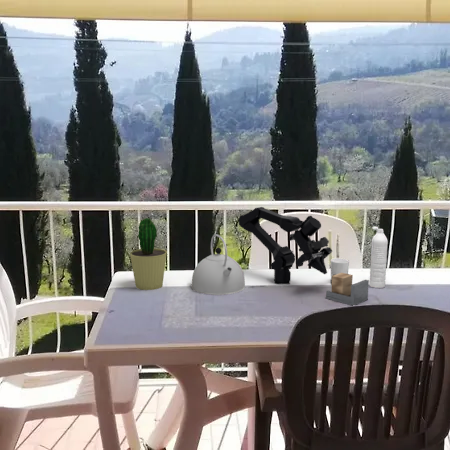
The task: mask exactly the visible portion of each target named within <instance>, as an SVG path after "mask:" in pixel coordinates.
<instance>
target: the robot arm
mask: <svg viewBox="0 0 450 450" xmlns="http://www.w3.org/2000/svg"><path fill="white" fill-rule="evenodd" d="M261 219H263V220H266V221H268V222H270V223H273V224H275V225H277V226H279V228H280V229H282V230H283V231H284V232H286V233H289V237H288V241H289V242H291V241H294V242H295V243H296V245H297V246H298V247H299V248H298V251H299V252H302V254H301V255H300V256H299V257H298V258H297V259H296V255H295V253H294V251H293V250H291V249H290V247H289V246H288V245H285V246H282V245H280V244H279V243H278V242H277V240H275V239H274V238H273V237H272V236H271V235H270V234H269V233H268V231H266V230H265V229H264V228H263V226H261V224H260V223H261V222H260V220H261ZM238 225H239V227H241V228H242V229H243V230H245V231H247V232H249V233H252V235H253V236H254V237H256V239H257V240H258V241H259V242H260V243H261V244H263V246H264V248H266V249H267V250H268V251H269V252H270V253H271V254H272V255H271V256H272V258H273V262H272V263H271V264H270V268H271V270H273V279H272V280H273V282H274V284H275V285H277V284H278V285H279V284H282V285H283V284H285V285H288V284H290V283H291V274H292V273H291V271H290V268H293V264H296V266H297V267H298V268H300V267H303V265H304V263H305V262H308V263H307V266H308V267H311V268H312V269H314V270H316V271H318V272H320V274H321V273H322V274H323V275H327V274H328V271H327V268H326V263H325V259H326V258H327V257H328V256H330V254H332V252H333V250H332V248H331V247H329V242H330V241H329V239H328V238H327V237H326V236H324V237H321V238H320V239H319V240H317V241H316V240H314V239H311V238H310V237H312V236H314V235H315V234H316V233H317V232H318V231H319V230H320V229H321V228H322V223H321V221H320V220H318V219H317V218H315V217H313V216H312V215H308V216H307V217H305V220H301V219H300V218H299V217H296V216H291V215H290V216H289V215H283V214H279V213H277V212H274V211H273V210H270V209H268V208H265V207H263V206H259V207H255V208H254V209H252V210H250V211H249V212H247V213H245V214H242V215H240V216H239V218H238ZM292 232H293V233H292ZM290 233H291V234H290Z"/></svg>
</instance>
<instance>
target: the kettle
mask: <svg viewBox="0 0 450 450" xmlns="http://www.w3.org/2000/svg"><path fill="white" fill-rule="evenodd" d="M215 237H216V238H217V237H218V238H219V239H220V240H221V242H222V243H223V247H224V253H225V254H222V249H221V247H216V248H215V253H216V254H215V253H214V249H213V243H214V239H215ZM210 253H211V254H210V255H208V256H206V257H205V258H203V259H202V260H200V261H199V262H198V264H197V265H196V266H195V268H194V270H193V273H192V277H191V289H192V291H194V292H197V293H199V294H204V295H211V296H222V295H223V296H227V295H232V294H233V295H234V294H237V293H240V292H242V291H243V290H245V288H246V285H245V284H246V281H245V280H246V279H245V273H244V270H243V268H242V267H241V265H240V264H239V263H238V262H237V261H236V260H235V259H234V258H232V257H231V256H229V255H228V248H227V243H226V241H225V240H224V238H223V237H222V236H221V235H220V234H216V233H215V234H213V235H212V237H211V241H210Z"/></svg>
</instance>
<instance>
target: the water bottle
mask: <svg viewBox="0 0 450 450" xmlns="http://www.w3.org/2000/svg"><path fill="white" fill-rule="evenodd" d="M371 229H372V230H376V233H375V234H374V236H372V239H371V253H370V269H369V270H370V271H369V287H371V288H374V289H383V288H385V287H386V278H387V277H386V275H387V274H386V273H387V272H386V271H387V261H388V259H387V256H388V244H389V243H388V242H389V241H388V238H387V236H386V235H385V233H384V229H383V228H379V226H372V228H371Z"/></svg>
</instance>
